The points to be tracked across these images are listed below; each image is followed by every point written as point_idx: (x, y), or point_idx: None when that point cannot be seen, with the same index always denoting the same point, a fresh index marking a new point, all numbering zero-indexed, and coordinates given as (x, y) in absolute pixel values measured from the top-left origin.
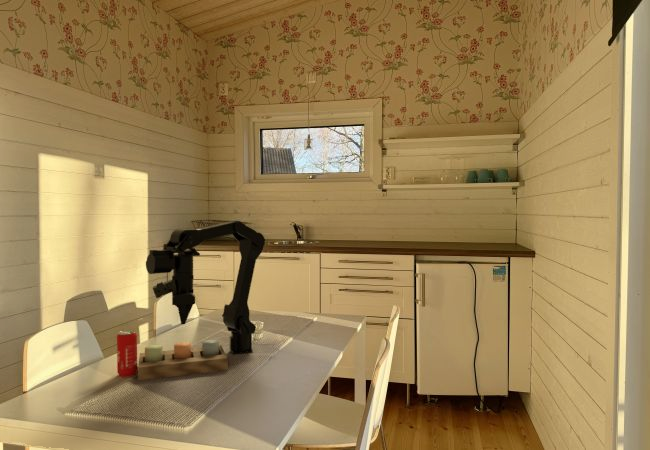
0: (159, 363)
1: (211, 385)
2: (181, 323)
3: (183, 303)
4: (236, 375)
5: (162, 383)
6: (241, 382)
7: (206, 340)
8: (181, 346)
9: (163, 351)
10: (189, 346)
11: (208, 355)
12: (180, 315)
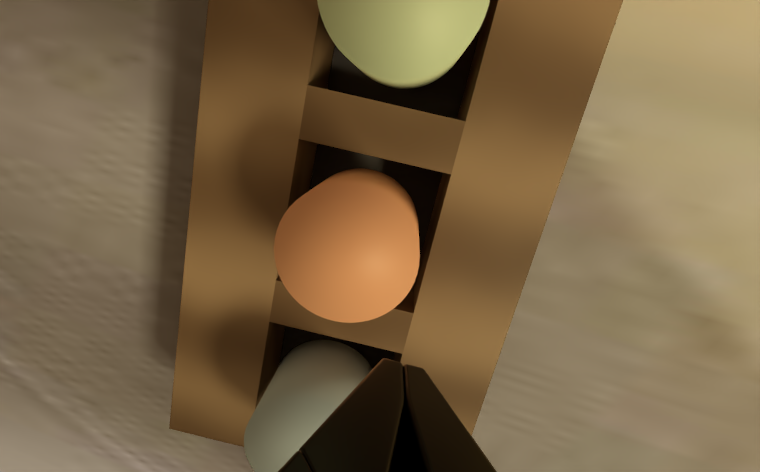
0: (250, 27)
1: (19, 247)
2: (377, 364)
3: None
4: (112, 386)
5: (141, 29)
6: (14, 368)
7: None
8: (284, 228)
9: (562, 134)
10: (293, 290)
11: (279, 366)
12: (312, 445)
